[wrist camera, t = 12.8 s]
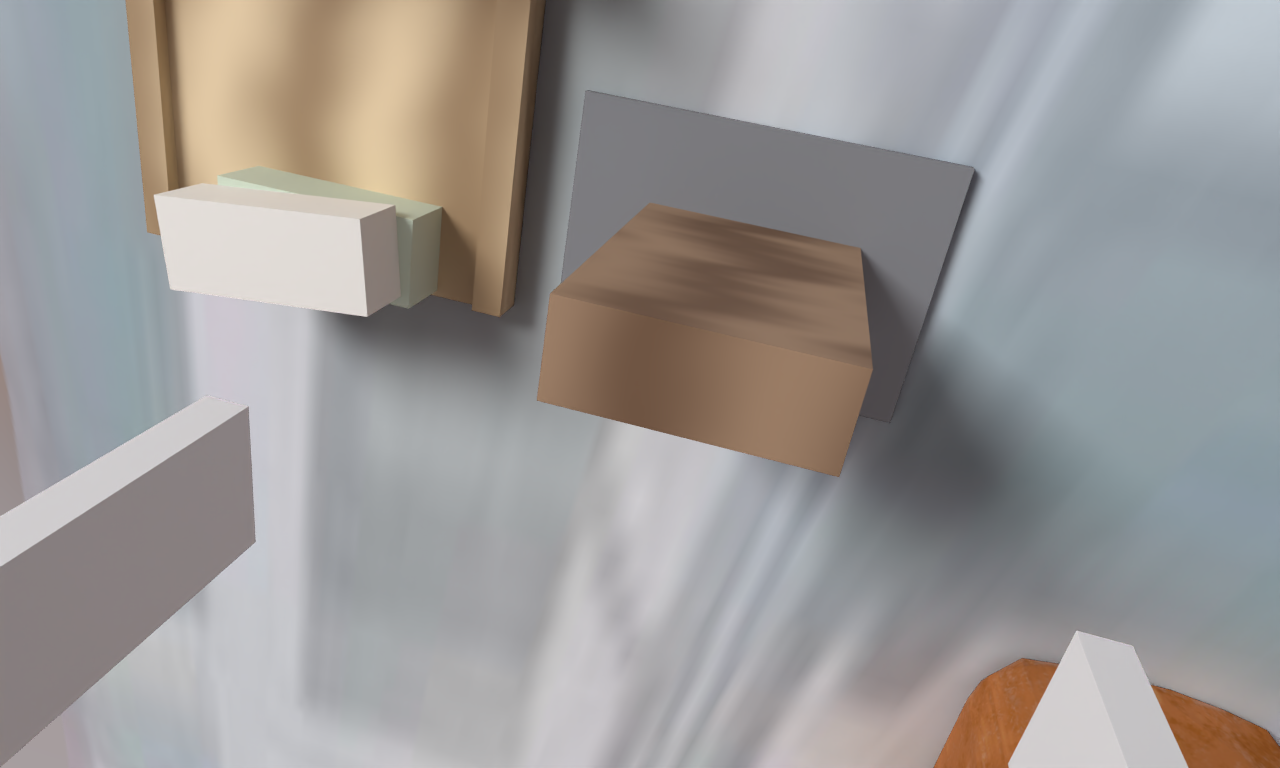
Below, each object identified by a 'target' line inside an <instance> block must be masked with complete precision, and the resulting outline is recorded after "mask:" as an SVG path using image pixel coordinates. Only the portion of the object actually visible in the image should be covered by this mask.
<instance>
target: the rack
mask: <svg viewBox="0 0 1280 768" xmlns="http://www.w3.org/2000/svg"><path fill="white" fill-rule="evenodd" d="M545 2H546V0H126V10H127V21H128V32H129V42H130V53H131V64H132V74H133V85H134V96H135V106H136V117H137V128H138V138H139V149H140V160H141V170H142V181H143V192H144V202H145V213H146V223H147V232H148V233H152V234H157V235H161V234H160V228H159V222H158V217H157V211H156V206H155V200H154V195H155V194H159V193H163V192H168V191H172V190H176V189H180V188H184V187H188V186H193V185H197V184H201V183H206V184H214V185H218V180H217V175H221V174H226V173H230V172H234V171H239V170H243V169H247V168H251V167H256V166H262V167H267V168H271V169H276V170H280V171H285V172H289V173H294V174H298V175H302V176H307V177H311V178H316V179H320V180H325V181H329V182H334V183H338V184H343V185H347V186H351V187H356V188H360V189H365V190H369V191H374V192H378V193H383V194H387V195H392V196H396V197H401V198H405V199H409V200H414V201H418V202H423V203H427V204H432V205H436V206H441V207H442V219H441V236H440V252H439V268H438V284H437V291H435V292H434V293H432V294H431V295H434V296H438V297H443V298H447V299H451V300H455V301H459V302H464V303H468V304H472V311H477V312H481V313H485V314H489V315H493V316H497V317H500V316H502V315H503V314H504V313H505V312H506V311H507V310H509V309H510V308H511V307H512V306H513V305H514V299H515V289H516V279H517V270H518V260H519V251H520V241H521V232H522V222H523V212H524V203H525V193H526V184H527V174H528V165H529V155H530V145H531V136H532V126H533V117H534V107H535V98H536V88H537V79H538V69H539V59H540V50H541V40H542V31H543V21H544V12H545Z"/></svg>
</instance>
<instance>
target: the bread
mask: <svg viewBox="0 0 1280 768" xmlns="http://www.w3.org/2000/svg"><path fill="white" fill-rule="evenodd" d="M1058 666H1059V664H1056V663H1050V662H1043V661H1037V660H1030V659H1024V658H1021V659H1019V660H1018V661H1016V662H1014V663H1012V664H1010V665H1008V666H1006V667H1005V668H1003V669H1001V670H999V671H997V672H995V673H993V674H992V675H990V676H988V677H987V678H985V679H983V680H982V681H981V682H980V683H979V684H978V686H977V687H976V688H975V690H974V691H973V692H972V694H971V695H970V696H969V698H968V699H967V701H966V703H965V705H964V707H963V709H962V711H961V713H960V715H959V717H958V719H957V721H956V723H955V725H954V727H953V729H952V731H951V733H950V735H949V737H948V739H947V741H946V743H945V745H944V747H943V749H942V752H941V754H940V756H939V758H938V760H937V762H936V764H935V766H934V768H1009V766H1008V763H1009V761H1010V759H1011V757H1012V755H1013V753H1014V751H1015V749H1016V747H1017V745H1018V743H1019V741H1020V740H1021V738H1022V736H1023V734H1024V732H1025V730H1026V728H1027V726H1028V724H1029V722H1030V720H1031V718H1032V716H1033V714H1034V712H1035V710H1036V708H1037V706H1038V704H1039V703H1040V701H1041V699H1042V697H1043V695H1044V693H1045V691H1046V689H1047V687H1048V685H1049V683H1050V681H1051V679H1052V677H1053V675H1054V673H1055V671H1056V669H1057V667H1058ZM1151 687H1152V689H1153V691H1154V693H1155V696H1156V698H1157V700H1158V702H1159V704H1160V707H1161V709H1162V711H1163V713H1164V715H1165V717H1166V720H1167V722H1168V724H1169V726H1170V728H1171V731H1172V733H1173V735H1174V737H1175V739H1176V741H1177V744H1178V746H1179V748H1180V750H1181V752H1182V755H1183V757H1184V759H1185V761H1186V763H1187V766H1188V768H1280V747H1279V746H1278V744H1277V743H1276V742H1275V740H1274V739H1273V738H1272V736H1271V735H1270V734H1269V732H1268V731H1267V730H1265V729H1263V728H1261V727H1259V726H1257V725H1255V724H1253V723H1250V722H1248V721H1246V720H1244V719H1242V718H1240V717H1238V716H1235V715H1233V714H1231V713H1229V712H1227V711H1225V710H1222V709H1220V708H1217V707H1214V706H1212V705H1209V704H1206V703H1204V702H1201V701H1198V700H1196V699H1193V698H1190V697H1188V696H1185V695H1182V694H1180V693H1177V692H1175V691H1172V690H1169V689H1165V688H1161V687H1157V686H1153V685H1151Z"/></svg>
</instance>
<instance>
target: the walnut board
mask: <svg viewBox="0 0 1280 768" xmlns="http://www.w3.org/2000/svg"><path fill="white" fill-rule="evenodd" d="M872 371H873V365H872V355H871V345H870V335H869V325H868V316H867V306H866V296H865V286H864V276H863V267H862V257H861V248H858V247H853V246H849V245H844V244H840V243H835V242H830V241H826V240H821V239H816V238H812V237H807V236H803V235H798V234H793V233H789V232H784V231H779V230H775V229H770V228H766V227H761V226H756V225H752V224H747V223H742V222H738V221H733V220H729V219H724V218H719V217H715V216H710V215H705V214H701V213H696V212H692V211H687V210H682V209H678V208H673V207H668V206H664V205H659V204H655V203H649V204H648V205H646V206H645V207H644V208H643V209H642V210H641V211H640V212H639V213H638V214H637V215H635V216H634V217H633V218H632V219H631V220H630V221H629V222H628V223H627V224H626V225H625V226H623V227H622V228H621V229H620V230H619V231H618V232H617V233H616V234H615V235H614V236H612V237H611V238H610V239H609V240H608V241H607V242H606V243H605V244H604V245H603V246H602V247H600V248H599V249H598V250H597V251H596V252H595V253H594V254H593V255H592V256H591V257H590V258H588V259H587V260H586V261H585V262H584V263H583V264H582V265H581V266H580V267H579V268H577V269H576V270H575V271H574V272H573V273H572V274H571V275H570V276H569V277H568V278H567V279H565V280H564V281H563V282H562V283H561V284H560V285H559V286H558V287H557V288H556V289H554V290H553V291H552V292H551V293H550V298H549V306H548V315H547V323H546V331H545V339H544V347H543V355H542V363H541V371H540V379H539V387H538V395H537V401H541V402H545V403H549V404H553V405H557V406H561V407H565V408H568V409H572V410H576V411H580V412H584V413H588V414H592V415H596V416H600V417H604V418H608V419H612V420H616V421H620V422H624V423H628V424H632V425H636V426H640V427H643V428H647V429H651V430H655V431H659V432H663V433H667V434H671V435H675V436H679V437H683V438H687V439H691V440H695V441H699V442H703V443H707V444H711V445H714V446H718V447H722V448H726V449H730V450H734V451H738V452H742V453H746V454H750V455H754V456H758V457H762V458H766V459H770V460H774V461H778V462H782V463H786V464H789V465H793V466H797V467H801V468H805V469H809V470H813V471H817V472H821V473H825V474H829V475H833V476H837V477H839V476H840V473H841V470H842V466H843V463H844V460H845V457H846V454H847V451H848V447H849V444H850V441H851V438H852V435H853V431H854V428H855V425H856V422H857V419H858V416H859V412H860V409H861V406H862V403H863V400H864V396H865V393H866V390H867V387H868V384H869V381H870V377H871V374H872Z"/></svg>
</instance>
